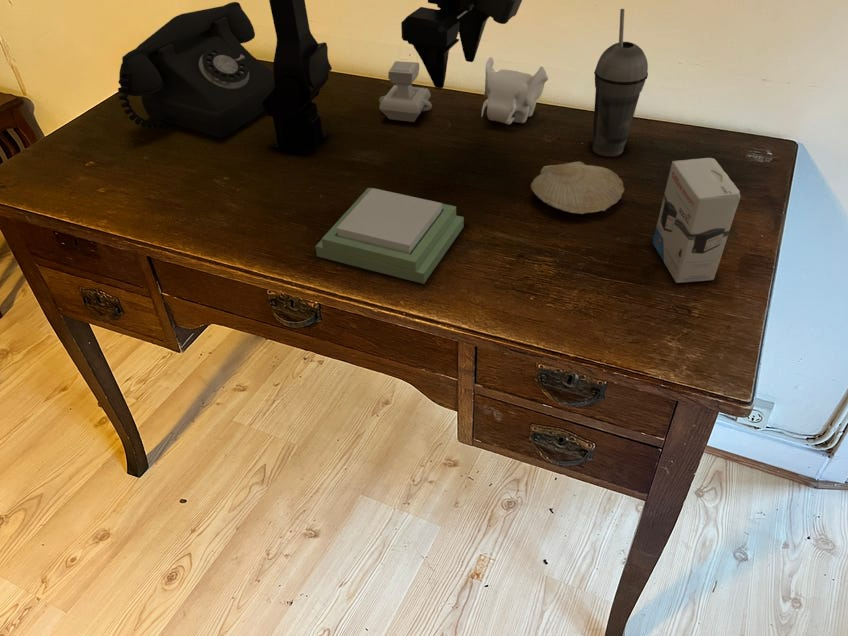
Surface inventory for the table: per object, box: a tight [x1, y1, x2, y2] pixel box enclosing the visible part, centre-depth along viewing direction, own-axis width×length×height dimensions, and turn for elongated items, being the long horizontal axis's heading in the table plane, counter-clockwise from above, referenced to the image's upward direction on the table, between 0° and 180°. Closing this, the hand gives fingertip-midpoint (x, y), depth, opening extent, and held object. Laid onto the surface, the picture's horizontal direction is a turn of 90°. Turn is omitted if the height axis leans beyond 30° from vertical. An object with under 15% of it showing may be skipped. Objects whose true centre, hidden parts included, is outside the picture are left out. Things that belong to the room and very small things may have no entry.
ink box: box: [652, 157, 742, 284], centre depth 86 cm, size 8×5×12 cm, turn 5°
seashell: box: [530, 160, 625, 215], centre depth 100 cm, size 12×12×3 cm
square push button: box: [337, 187, 443, 254], centre depth 93 cm, size 10×10×2 cm
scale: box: [314, 187, 465, 285], centre depth 94 cm, size 15×13×3 cm
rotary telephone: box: [117, 1, 275, 138], centre depth 119 cm, size 30×17×15 cm, turn 148°
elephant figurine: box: [481, 56, 549, 125], centre depth 115 cm, size 10×12×9 cm
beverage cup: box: [592, 8, 649, 157], centre depth 103 cm, size 7×7×20 cm
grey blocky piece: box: [378, 60, 433, 123], centre depth 117 cm, size 9×7×8 cm
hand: (454, 74), depth 99 cm, fingers open, 9 cm apart
